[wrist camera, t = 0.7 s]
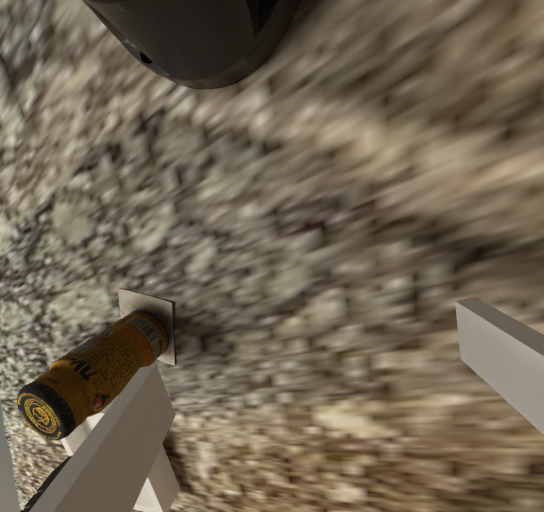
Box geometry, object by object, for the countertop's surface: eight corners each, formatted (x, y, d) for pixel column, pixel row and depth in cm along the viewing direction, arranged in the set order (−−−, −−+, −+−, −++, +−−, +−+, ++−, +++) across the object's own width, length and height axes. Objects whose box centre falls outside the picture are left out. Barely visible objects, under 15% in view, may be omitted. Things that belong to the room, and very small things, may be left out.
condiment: (125, 348, 34) (16, 433, 23) (119, 287, 31) (-9, 351, 20) (175, 364, 32) (83, 464, 21) (174, 301, 30) (66, 380, 19)
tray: (68, 389, 40) (44, 408, 37) (141, 392, 36) (120, 414, 33) (110, 475, 45) (91, 498, 41) (180, 488, 40) (165, 516, 37)
